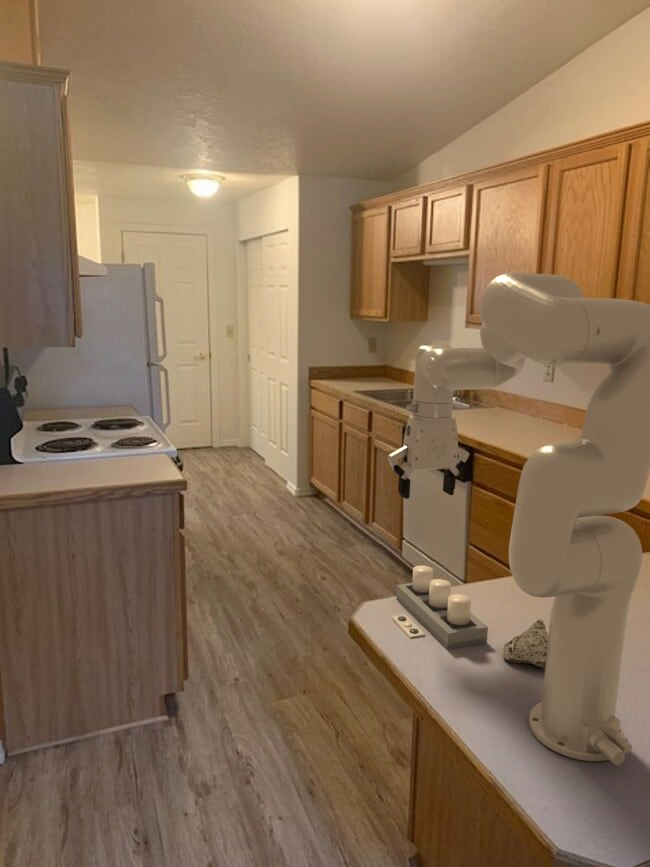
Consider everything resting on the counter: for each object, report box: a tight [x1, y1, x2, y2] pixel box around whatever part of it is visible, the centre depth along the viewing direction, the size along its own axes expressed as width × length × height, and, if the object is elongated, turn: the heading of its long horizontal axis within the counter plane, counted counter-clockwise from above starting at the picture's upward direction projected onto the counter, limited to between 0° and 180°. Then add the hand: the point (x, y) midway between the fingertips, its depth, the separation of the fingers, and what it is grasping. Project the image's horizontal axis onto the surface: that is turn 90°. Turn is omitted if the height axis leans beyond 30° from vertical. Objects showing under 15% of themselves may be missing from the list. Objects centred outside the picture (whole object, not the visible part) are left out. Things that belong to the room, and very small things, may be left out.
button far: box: [411, 565, 434, 592], centre depth 130 cm, size 4×4×4 cm
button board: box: [395, 582, 489, 650], centre depth 124 cm, size 21×8×3 cm, turn 19°
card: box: [391, 614, 426, 639], centre depth 121 cm, size 8×3×1 cm, turn 19°
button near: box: [447, 593, 472, 625], centre depth 117 cm, size 4×4×4 cm
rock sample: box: [502, 618, 549, 669], centre depth 110 cm, size 10×8×9 cm
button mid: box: [429, 578, 452, 608], centre depth 123 cm, size 4×4×4 cm
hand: (426, 494), depth 128 cm, fingers open, 9 cm apart
